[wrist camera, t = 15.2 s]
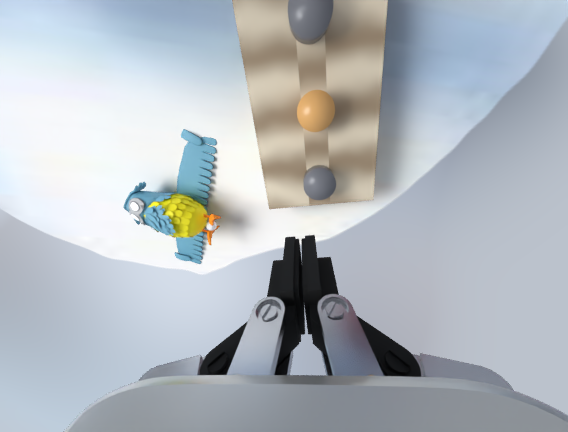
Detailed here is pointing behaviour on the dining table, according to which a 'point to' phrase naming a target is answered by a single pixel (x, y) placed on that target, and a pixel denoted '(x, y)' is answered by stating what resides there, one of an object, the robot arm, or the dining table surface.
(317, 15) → the knob
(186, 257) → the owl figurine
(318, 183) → the knob
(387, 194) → the dining table surface
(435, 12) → the dining table surface
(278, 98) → the console
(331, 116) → the knob mid
